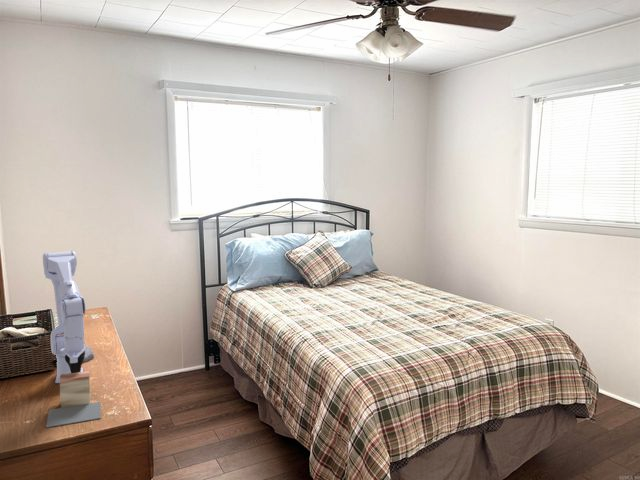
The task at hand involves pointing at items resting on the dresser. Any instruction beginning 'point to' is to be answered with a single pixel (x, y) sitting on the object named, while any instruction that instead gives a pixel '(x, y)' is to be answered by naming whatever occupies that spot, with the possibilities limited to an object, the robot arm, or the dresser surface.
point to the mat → (74, 414)
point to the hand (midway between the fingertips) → (76, 375)
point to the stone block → (88, 353)
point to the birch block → (75, 389)
